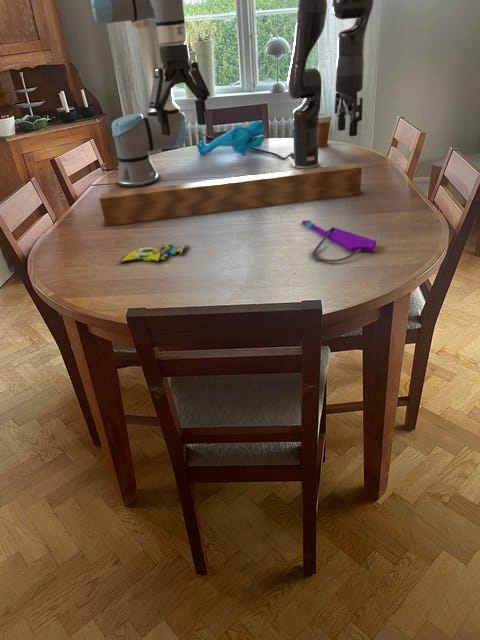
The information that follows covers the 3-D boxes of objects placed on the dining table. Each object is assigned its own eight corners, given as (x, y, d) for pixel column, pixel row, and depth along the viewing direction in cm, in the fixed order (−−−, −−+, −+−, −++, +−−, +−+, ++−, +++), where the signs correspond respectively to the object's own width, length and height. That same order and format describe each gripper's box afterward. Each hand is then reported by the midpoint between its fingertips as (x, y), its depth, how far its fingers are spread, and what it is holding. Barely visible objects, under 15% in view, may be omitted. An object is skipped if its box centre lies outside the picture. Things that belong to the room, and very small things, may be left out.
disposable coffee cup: (306, 147, 207) (306, 118, 200) (312, 142, 214) (312, 113, 207) (328, 148, 203) (328, 117, 197) (333, 142, 211) (334, 113, 204)
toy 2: (202, 134, 216) (265, 114, 206) (210, 157, 221) (271, 139, 211) (191, 144, 203) (258, 123, 192) (200, 168, 208) (265, 149, 197)
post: (106, 226, 147) (99, 198, 142) (107, 220, 151) (101, 193, 146) (360, 194, 153) (362, 167, 148) (355, 189, 157) (356, 163, 152)
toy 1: (177, 259, 120) (120, 260, 122) (177, 262, 121) (121, 263, 123) (186, 242, 129) (132, 243, 131) (186, 245, 129) (133, 246, 131)
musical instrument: (359, 272, 111) (387, 230, 123) (358, 264, 110) (387, 222, 122) (269, 260, 124) (303, 223, 136) (267, 253, 122) (302, 216, 134)
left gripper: (143, 49, 116) (158, 140, 127) (217, 39, 130) (224, 121, 142) (125, 49, 120) (141, 137, 132) (198, 39, 135) (207, 119, 147)
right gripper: (373, 73, 129) (369, 136, 138) (351, 69, 141) (348, 127, 150) (347, 76, 128) (344, 139, 137) (327, 71, 140) (326, 130, 149)
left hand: (184, 129), depth 137 cm, fingers open, 13 cm apart
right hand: (346, 133), depth 144 cm, fingers open, 8 cm apart
